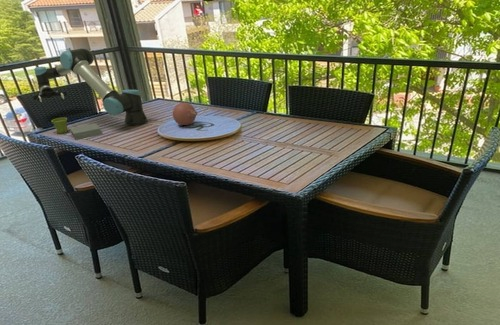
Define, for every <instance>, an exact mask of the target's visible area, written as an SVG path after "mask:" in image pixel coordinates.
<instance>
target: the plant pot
mask: <svg viewBox="0 0 500 325" xmlns="http://www.w3.org/2000/svg"><path fill="white" fill-rule="evenodd" d="M67 122H68V118H67V117H57V118H54V119H52V120H51V123H52V124H53V126H54V128H55V129H56V132H57V133H58V134H63V133H65V134H66V133H68V131H69V129H68V123H67Z"/></svg>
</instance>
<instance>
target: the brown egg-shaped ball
mask: <svg viewBox="0 0 500 325" xmlns="http://www.w3.org/2000/svg"><path fill="white" fill-rule="evenodd" d="M197 116H198V112H197V110H196V109H195V107H194V106H193V105H192V104H190V103H188V102H180V103H177V104H176V105H175V106H174V108H173V110H172V118H173V120H174V121H175V123H176V124H178V125H179V124H180V125H179V126H182V125H187V126H189V125H188V124H190V125H191V124H193V123H194V121H195V120H196V118H197Z"/></svg>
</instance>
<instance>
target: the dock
mask: <svg viewBox="0 0 500 325" xmlns="http://www.w3.org/2000/svg"><path fill="white" fill-rule="evenodd" d="M69 130H70V134H71V135H72V137H73V138H74V140H75V141H76V140H81V139H85V138H91V137H96V136H99V135H102V130H101V127H100V126H99V125H98V124H97V123H95V122H94V123H91V124H86V125H79V126H75V127H69Z"/></svg>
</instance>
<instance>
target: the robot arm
mask: <svg viewBox="0 0 500 325" xmlns="http://www.w3.org/2000/svg"><path fill="white" fill-rule="evenodd" d="M94 60H95V58H94V54H93V52H91V51H90V50H89V49H86V48H78V49H71V50H65V51H62V52H61V53H60V56H59V61H60V63H59V64H58V65H56V66H53V67H49V68H48V67H46V66H36V67H34V74H35V77H36V81H37V85H38V86H37V87H38V90H39V92H37V93H36V94H35V95H33V97H32V98H33V100H34V101H38V102H40V103H43V101H42V99H45V98H47V99H51V98H53V97H60V98H62V99H63V100H65V97H66V96H68V95H67V91H61V90H58V89H57V90H56V91H55V90H54V89H53V88H52V86H51V83H50V80H52V79H56V78H62V77H66V76H67V74H69V73H71V72H72V73H73V74H74V75H79V76H80V78H82V79H83V80H84V81H85V83H86V84H87V85H88V86H90V87H91V89H92V90H93V91H94V92H96V94H97V95H98V96H100V97H101V101H102V106H103V108H104V110H105V112H107V113H108V114H109V115H112V116H114V115H115V116H116V115H121V114H123V113H125V116H124V123H125V125H126V126H140V125H144V124H145V123H147V122H148V118H147V116H146V115H147V114H146V113H145V112H144V109H143V102H142V97H141V96H142V95H141V92H140V90H138V89H122V91H121V93H120V92H119V91H117V90H116V89H112V88H111V87H110V86H109V85H108V84H107V83H106V82H105V81H104V79H102V78H101V77H100V76H99V75H98V74H97V73H96V71H94V70H93V68H91V65H92V64H93V63H94Z"/></svg>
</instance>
